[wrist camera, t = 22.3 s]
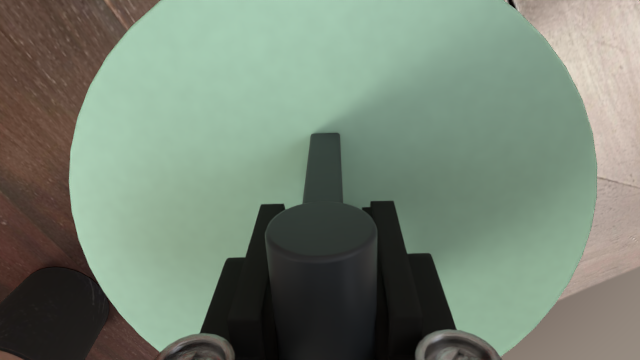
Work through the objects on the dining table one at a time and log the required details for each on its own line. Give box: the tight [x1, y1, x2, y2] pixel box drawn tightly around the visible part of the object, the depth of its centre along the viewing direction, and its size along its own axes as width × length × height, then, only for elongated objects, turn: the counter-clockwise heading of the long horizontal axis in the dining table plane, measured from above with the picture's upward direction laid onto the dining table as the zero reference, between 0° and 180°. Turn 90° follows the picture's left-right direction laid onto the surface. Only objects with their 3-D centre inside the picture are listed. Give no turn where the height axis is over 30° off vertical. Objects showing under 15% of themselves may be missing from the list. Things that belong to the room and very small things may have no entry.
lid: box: [69, 0, 597, 360], centre depth 10 cm, size 14×14×6 cm
